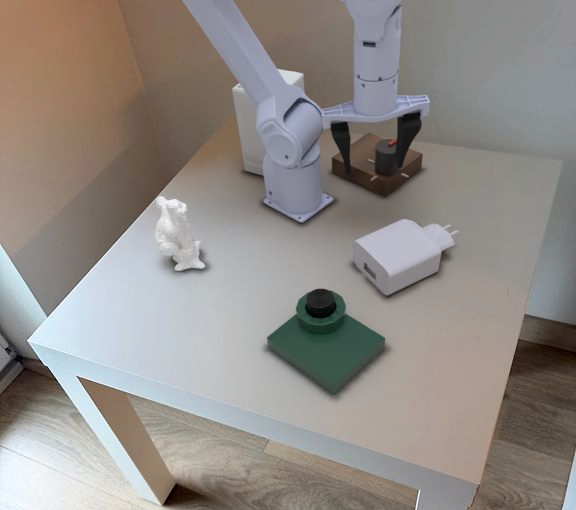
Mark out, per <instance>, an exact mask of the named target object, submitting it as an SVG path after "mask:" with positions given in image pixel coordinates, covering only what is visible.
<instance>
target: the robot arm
mask: <svg viewBox="0 0 576 510" xmlns="http://www.w3.org/2000/svg"><path fill="white" fill-rule="evenodd" d="M181 1H182V3H184V5H185V7H186V8H187V9H188V11H189V12H190V14H191V15H192V17H193V18H194V19H195V22H196V23H197V24H198V26H199V27H200V28H201V30H202V32H203V33H204V34H205V36H206V37H207V38H208V40H209V42H210V43H211V44H212V46H213V47H214V48H215V50H216V51H217V53H218V55H219V56H220V57H221V59H222V60H223V62H224V63H225V65H226V66H227V68H228V69H229V70H230V72H231V73H232V74H233V76H234V78H235V79H236V81H237V82H238V84H239V83H240V85H241V86H242V88H243V89H244V91H245V92H246V93H247V95H248V96H249V98H250V99H251V101H252V102H253V104H254V105H255V107H256V108H257V119H256V131H257V132H258V134H259V135H260V137H261V139H262V141H263V143H264V147H265V151H266V155H265V157H264V160H263V175H264V176H263V175H262V176H263V180H264V187H265V194H266V198H264V199H263V204H265V205H266V206H269V207H271V208H272V209H274V210H276V211H278V212H280V213H281V214H283V215H285V216H287V217H289V218H290V219H293V221H296V222H298V223H300V224H303V223H305V222H306V221H308V220H309V219H310V218H312V217H313V216H314V215H316V214H317V213H319V212H320V211H321V210H323V209H324V208H325V207H327V206H329V204H331V203H332V202H334V197H332V196H330V195H329V194H326V193H325V192H323V186H322V185H323V183H322V167H321V166H322V165H321V150H320V136H321V135H322V134H323V133H324V131H325V130H330V133H331V137H332V139H333V141H334V143H335V145H336V148H338V150H339V152H340V153H341V155H342V158H343V161H344V169H345V173H346V174H351V165H350V145H351V139H352V137H351V133H350V127H349V125H350V124H357V123H381V122H385V121H388V120H392V119H395V118H397V119H396V120H397V123H396V127H397V129H396V138H397V143H396V151H395V161H396V164H397V167H398V168H402V166H403V162H404V159H405V156H406V154H407V151H408V149H409V148H410V147H411V145H412V143H413V141H414V140H415V139H416V137H417V136H418V134H419V133H420V131H421V129H422V124H423V121H422V119H421V117H429V113H430V104H431V101H430V99H429V96H428V95H427V94H424V95H423V94H422V95H404V94H403V95H400V94H399V95H398V84H399V70H400V69H399V68H400V56H401V55H400V54H401V41H402V40H401V39H402V12H403V5H402V4H401V3H402V2H403V0H338V1H339V2H340V3H343V4H345V6H346V8H347V11H348V13H349V15H350V17H351V18H352V20H353V22H354V23H353V30H354V31H353V99H352V100H349V101H347V102H344V103H340V104H337V105H334V106H330V107H326V108H321V106H319V104H318V103H316V102H315V101H313V100H312V99H310V98H309V97H308V96H307V94H306V93H304V91H303V90H302V88H300V87H297V86H293V85H290V84H287V83H286V82H285V80H284V79H283V77H282V76H281V74H280V73H279V71H278V69H279V68H277V66H276V65H275V63H274V62H273V60H272V59H271V57H270V56H269V54H268V52H267V50H266V49H265V48H264V46H263V44H262V43H261V42H260V40H259V38H258V37H257V35H256V34H255V32H254V31H253V28H252V27H251V26H250V24H249V23H248V21H247V20H246V18H245V17H244V15H243V13H242V12H241V10H240V9H239V8H238V6H237V4H236V3H235V1H234V0H181Z"/></svg>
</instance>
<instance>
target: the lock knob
mask: <svg viewBox="0 0 576 510" xmlns="http://www.w3.org/2000/svg"><path fill="white" fill-rule="evenodd" d="M396 143H397V137H396V138H384V140H381V141H379V142H378V143H377V144H376V146H375V171H376V172H377V173H378V174H380V175H385V176H390V175H394V174H397V173H398V172H399V171H400V170H401V168H398V167H397V164H396V161H395V151H396Z"/></svg>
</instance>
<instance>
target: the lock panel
mask: <svg viewBox="0 0 576 510" xmlns="http://www.w3.org/2000/svg"><path fill="white" fill-rule="evenodd" d="M384 139H385V138H384V137H381V136H379V135H376V134H374V133H371V132H367V133H365V134H364V135H363V136H361V137H360V138H358V139H357V140H356V141H354V142H352V143H350V165H351V174H346V173H345V169H344V161H343V158H342V155H341V153H340V151H339V152H338V153H336V154H334V155H333V156H332V157H331V171H332V174H334V175H335V176H338V177H341V178H343V179H345V180H347V181H349V182H352V183H354V184H356V185H359V186H360V187H363V188H365V189H367V190H369V191H371V192H374V193H376V194H378V195H380V196H382V197H384V198H385V197H387V196H388V195H389V194H391V193H392V192H394V191H395V190H396V189H397V188H399V187H401V186H402V185H403V184H404V183H405V182H407V181H408V180H409V179H411V178H412V177H414V176H415V175H416V174H418V173H419V172H420V171H421V170H422V166H423V165H422V164H423V156H424V154H423V152H420V151H417V150H415V149H412V148H410V147H409V149H408V151H407V154H406V156H405V159H404V162H403V166H402V168H401V170H400V171H399V172H398V173H397V174H394V175H390V176H385V175H380V174H378V173H377V172H376V171H375V146H376V144H377V143H378V142H379V141H381V140H384Z"/></svg>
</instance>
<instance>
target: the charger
mask: <svg viewBox="0 0 576 510" xmlns="http://www.w3.org/2000/svg"><path fill="white" fill-rule="evenodd" d="M451 227H452V226H451V224H447V225H444V226H443V227H442V226H441V225H440V223H430V224H427V225H425V226H423V227H422V226H420V225H419V224H418V223H416V221H414V220H411V219H407V218H401V219H399V220H397V221H395V222H393V223H392V224H391V223H390V224H388V225H386V226H383V227H382V228H380V229H377V230H375V231H372V232H371V233H368V234H367V235H364V236H362V237H359V238H358V239H355V240H353V241H352V261H353V263H354V265H355V266H356V267H357V269H358V270H359V271H360V272H361V273H362V274H363V275H364V276H365V277H366V278H367V279H368V280H369V281H370V282H371V283H372V284H373V285H374V286H375V287H376V288H377V289H378V290H379V291H380V292H381V293H382V294H383V295H385V296H390V295H392V294H395V293H396V292H398V291H400V290H403V289H404V288H406V287H409V286H410V285H412V284H414V283H416V282H419V281H420V280H422V279H423V280H424V279H425V278H427V277H429V276H431V275H433V274H435V273H437V272H439V270H440V264H441V258H442V251H444V250H447V249H449V248H451V247H452V246H455V245H456V243H455V240H454V239H453V236H455V235H458V234H459V230H453V231H451V232H449V231H448V229H451Z"/></svg>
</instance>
